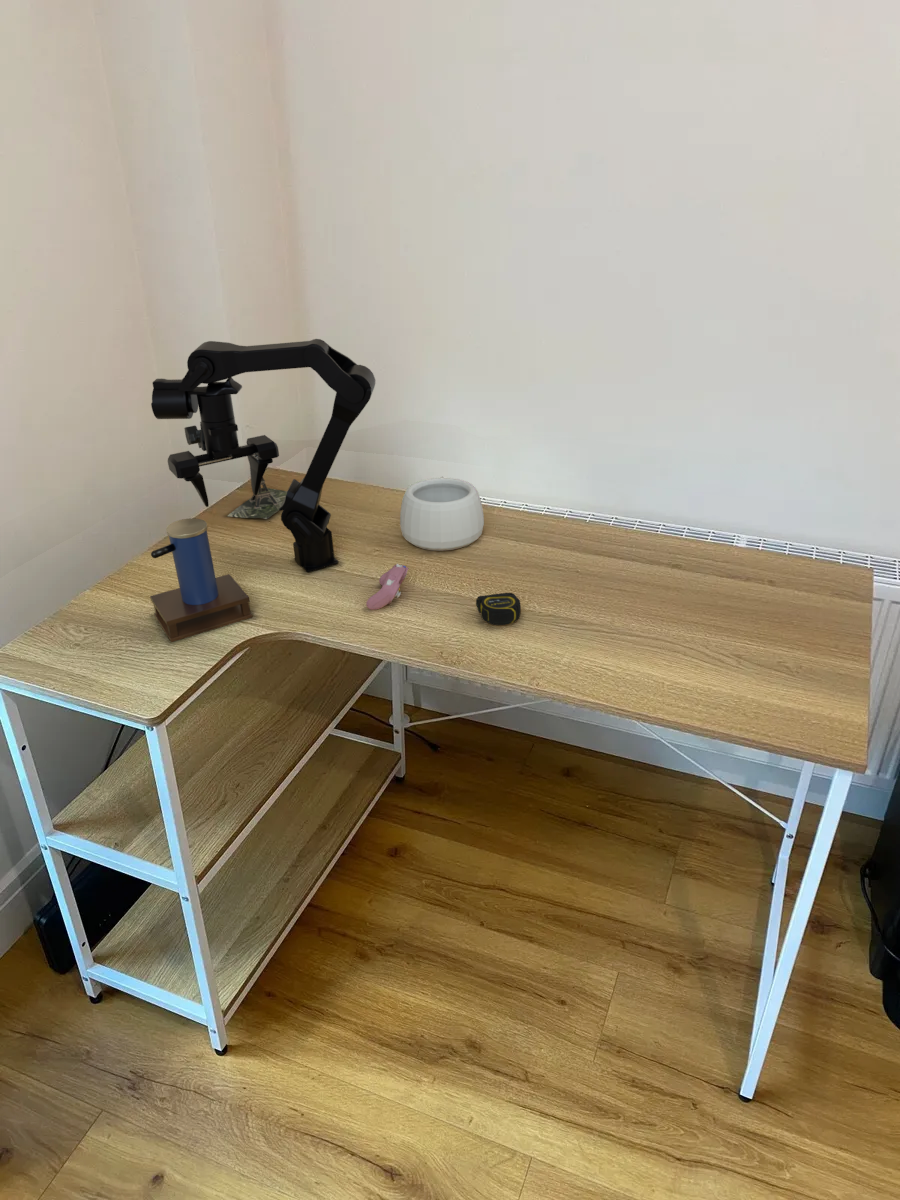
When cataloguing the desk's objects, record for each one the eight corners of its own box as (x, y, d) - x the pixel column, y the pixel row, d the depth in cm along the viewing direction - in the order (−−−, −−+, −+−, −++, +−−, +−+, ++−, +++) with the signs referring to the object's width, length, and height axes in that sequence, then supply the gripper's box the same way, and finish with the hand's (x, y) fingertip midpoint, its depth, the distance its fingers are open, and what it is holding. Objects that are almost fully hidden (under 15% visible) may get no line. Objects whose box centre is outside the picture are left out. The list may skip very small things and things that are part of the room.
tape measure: (514, 607, 147) (515, 588, 146) (525, 627, 142) (525, 608, 140) (475, 611, 146) (475, 592, 145) (484, 632, 141) (484, 612, 139)
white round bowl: (484, 554, 165) (484, 506, 160) (398, 555, 165) (395, 508, 160) (482, 508, 183) (482, 464, 178) (404, 510, 184) (402, 466, 179)
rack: (232, 593, 154) (229, 573, 152) (252, 617, 147) (249, 597, 145) (154, 616, 148) (149, 596, 146) (171, 642, 140) (166, 621, 138)
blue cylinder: (205, 583, 149) (191, 514, 143) (227, 594, 146) (214, 525, 139) (153, 606, 143) (137, 536, 136) (175, 619, 139) (159, 547, 132)
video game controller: (386, 620, 148) (402, 590, 144) (363, 608, 147) (378, 577, 144) (401, 592, 156) (416, 563, 152) (378, 580, 156) (393, 551, 152)
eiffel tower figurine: (268, 522, 180) (259, 462, 173) (226, 516, 183) (216, 456, 177) (302, 495, 192) (296, 437, 185) (263, 489, 195) (255, 433, 189)
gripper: (251, 397, 160) (263, 475, 168) (151, 416, 152) (168, 497, 159) (274, 412, 152) (285, 494, 160) (169, 433, 143) (186, 518, 151)
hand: (231, 500), depth 158 cm, fingers open, 9 cm apart
